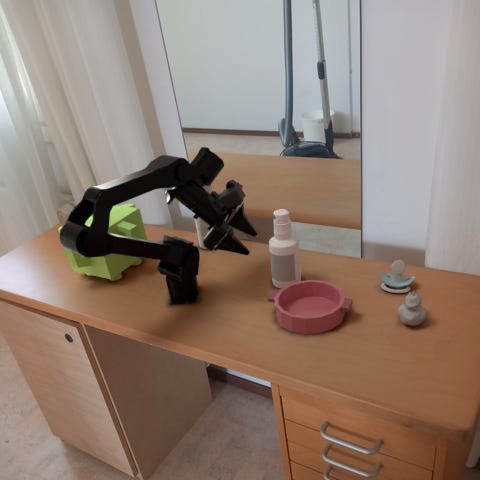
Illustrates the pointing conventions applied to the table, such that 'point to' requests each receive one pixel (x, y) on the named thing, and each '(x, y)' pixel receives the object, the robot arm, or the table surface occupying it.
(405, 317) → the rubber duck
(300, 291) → the pot
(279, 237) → the spray bottle
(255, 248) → the table surface
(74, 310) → the table surface
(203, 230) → the paper towel roll
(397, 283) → the pacifier
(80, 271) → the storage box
